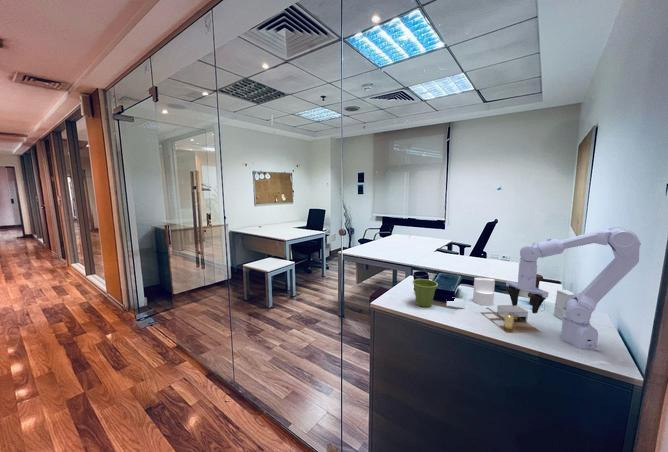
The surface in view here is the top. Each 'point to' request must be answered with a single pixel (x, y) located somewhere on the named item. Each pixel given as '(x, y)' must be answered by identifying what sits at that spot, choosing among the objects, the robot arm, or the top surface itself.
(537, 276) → the bolt
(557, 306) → the skincare box
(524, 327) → the board
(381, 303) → the top surface
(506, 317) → the pin
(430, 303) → the plant pot
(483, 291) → the base with upright slab
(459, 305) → the hard drive
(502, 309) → the housing
